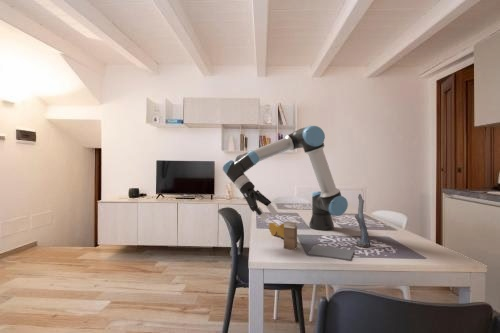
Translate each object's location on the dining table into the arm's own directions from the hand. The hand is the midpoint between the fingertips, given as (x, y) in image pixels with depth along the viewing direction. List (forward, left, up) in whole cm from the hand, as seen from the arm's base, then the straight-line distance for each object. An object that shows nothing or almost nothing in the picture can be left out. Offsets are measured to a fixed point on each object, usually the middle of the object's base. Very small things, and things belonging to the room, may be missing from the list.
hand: (271, 217), depth 137 cm
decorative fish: (-14, 0, -14) cm, 20 cm away
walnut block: (0, +10, -14) cm, 17 cm away
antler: (-22, +40, -14) cm, 48 cm away
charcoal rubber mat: (-1, +29, -14) cm, 32 cm away
